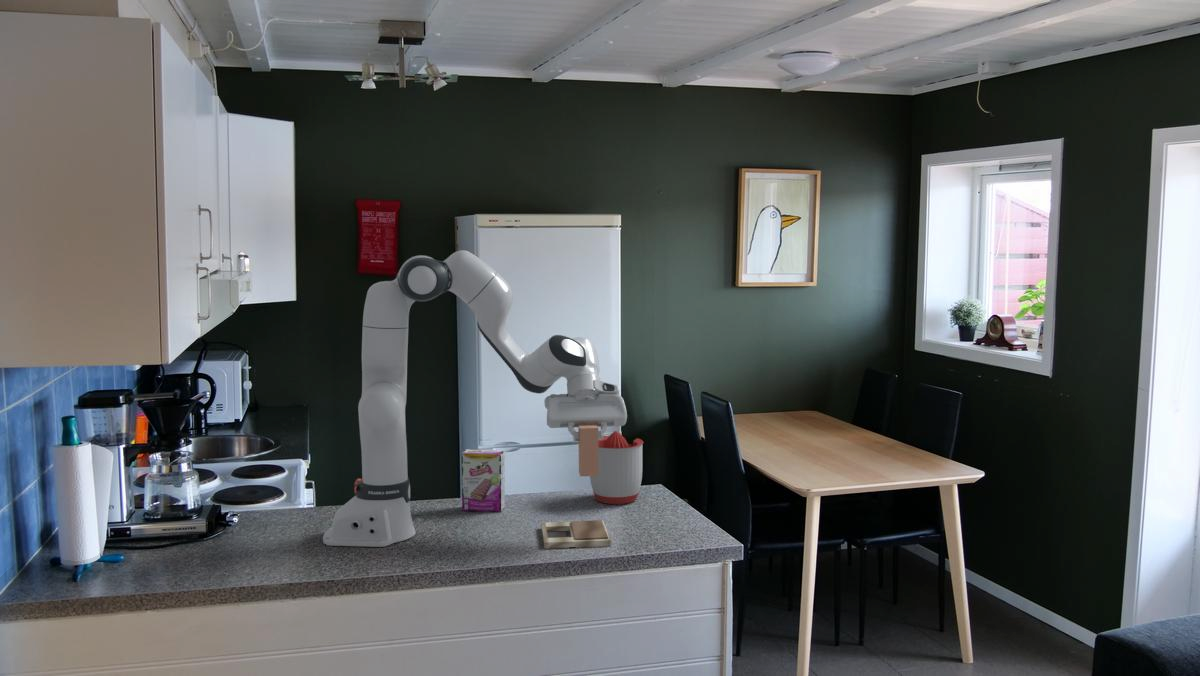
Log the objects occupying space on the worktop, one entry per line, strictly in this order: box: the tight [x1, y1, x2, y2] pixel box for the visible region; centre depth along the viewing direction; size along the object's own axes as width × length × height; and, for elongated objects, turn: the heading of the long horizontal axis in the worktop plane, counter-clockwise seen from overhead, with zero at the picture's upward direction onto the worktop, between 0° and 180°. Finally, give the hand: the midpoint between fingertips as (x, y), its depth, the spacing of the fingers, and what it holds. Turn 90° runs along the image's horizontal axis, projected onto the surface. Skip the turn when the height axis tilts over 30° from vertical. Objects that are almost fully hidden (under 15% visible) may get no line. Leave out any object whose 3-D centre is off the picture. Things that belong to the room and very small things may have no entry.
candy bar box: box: [461, 448, 506, 513], centre depth 256 cm, size 11×5×16 cm, turn 84°
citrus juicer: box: [589, 430, 644, 505], centre depth 266 cm, size 16×17×20 cm
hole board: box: [541, 519, 612, 550], centre depth 233 cm, size 16×16×2 cm
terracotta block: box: [577, 424, 599, 477], centre depth 231 cm, size 4×4×12 cm
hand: (588, 439), depth 230 cm, fingers closed on terracotta block, 4 cm apart
